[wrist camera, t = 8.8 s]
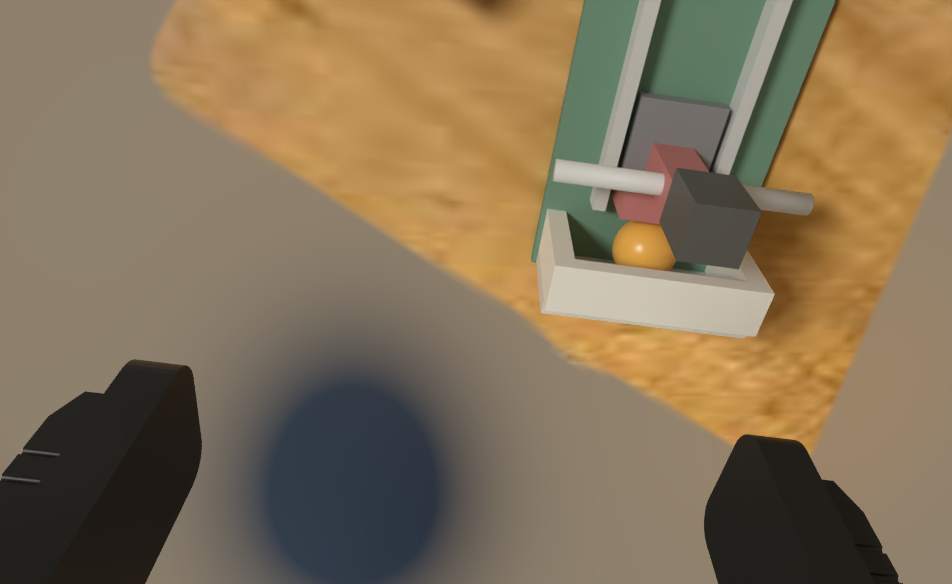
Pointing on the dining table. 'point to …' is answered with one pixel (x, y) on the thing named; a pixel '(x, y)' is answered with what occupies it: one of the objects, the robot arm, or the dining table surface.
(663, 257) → the ball
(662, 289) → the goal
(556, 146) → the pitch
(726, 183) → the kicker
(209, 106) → the dining table surface
